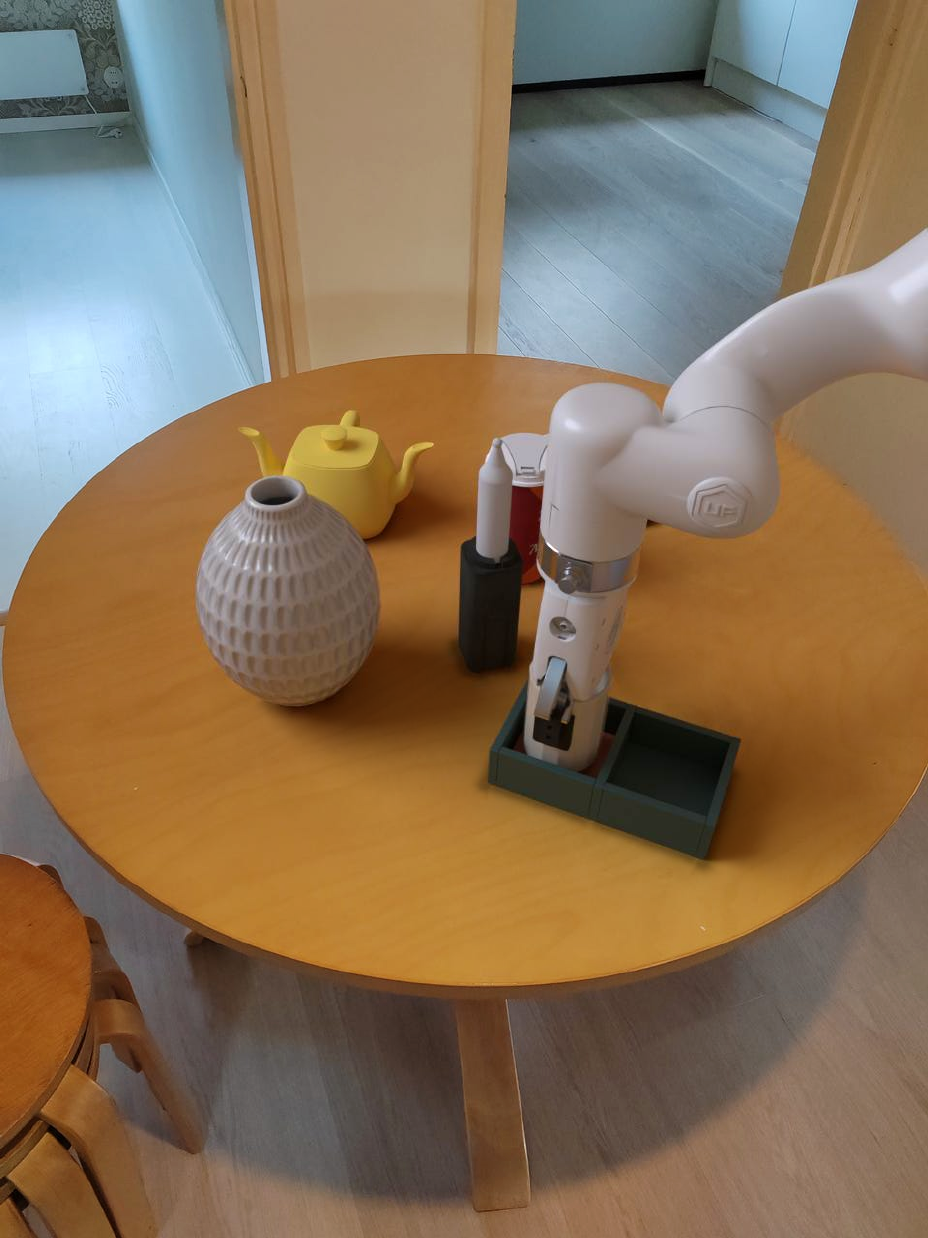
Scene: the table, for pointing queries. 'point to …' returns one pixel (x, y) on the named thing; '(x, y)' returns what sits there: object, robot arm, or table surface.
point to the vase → (287, 595)
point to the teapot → (345, 470)
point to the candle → (490, 574)
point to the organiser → (629, 775)
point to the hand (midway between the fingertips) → (566, 711)
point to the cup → (585, 726)
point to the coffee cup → (526, 495)
